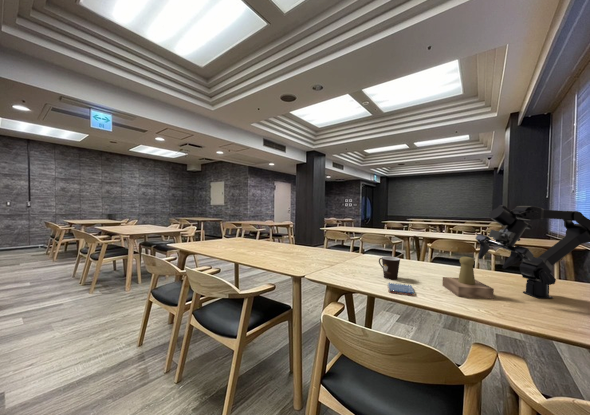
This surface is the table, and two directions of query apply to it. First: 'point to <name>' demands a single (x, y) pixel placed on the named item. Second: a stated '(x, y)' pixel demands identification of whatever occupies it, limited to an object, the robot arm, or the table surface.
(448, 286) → the walnut block
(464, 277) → the cork
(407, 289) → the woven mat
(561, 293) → the table surface
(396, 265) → the coffee mug
